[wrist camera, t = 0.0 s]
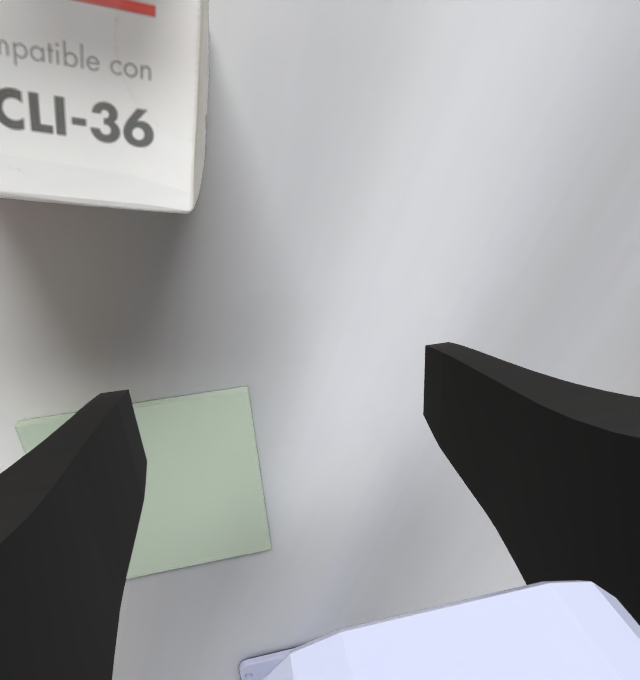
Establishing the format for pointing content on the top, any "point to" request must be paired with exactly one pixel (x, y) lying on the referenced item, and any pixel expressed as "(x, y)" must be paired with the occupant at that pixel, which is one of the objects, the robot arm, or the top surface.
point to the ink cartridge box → (104, 102)
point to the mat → (190, 479)
